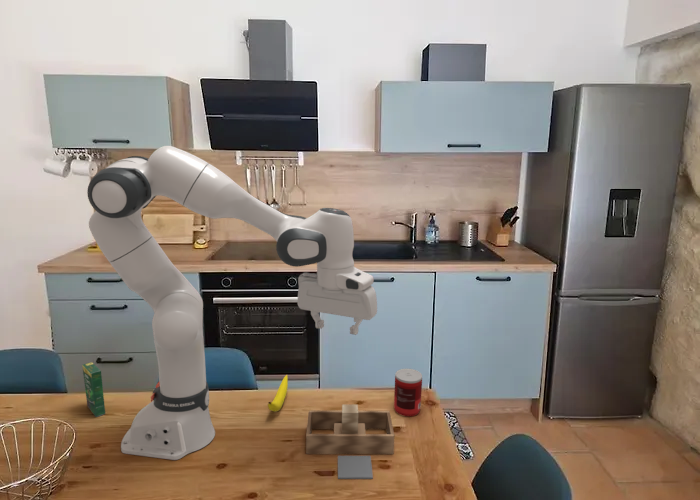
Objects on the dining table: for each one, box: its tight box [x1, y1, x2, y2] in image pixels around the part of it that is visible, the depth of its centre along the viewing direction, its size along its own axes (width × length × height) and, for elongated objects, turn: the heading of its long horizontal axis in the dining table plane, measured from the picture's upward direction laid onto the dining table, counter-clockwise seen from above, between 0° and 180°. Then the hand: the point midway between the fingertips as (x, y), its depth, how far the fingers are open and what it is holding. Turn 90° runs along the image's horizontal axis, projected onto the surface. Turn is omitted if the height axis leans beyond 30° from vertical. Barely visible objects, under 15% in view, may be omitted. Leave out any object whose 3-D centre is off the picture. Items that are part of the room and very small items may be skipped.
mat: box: [337, 455, 374, 480], centre depth 118 cm, size 8×8×1 cm
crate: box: [305, 410, 395, 455], centre depth 129 cm, size 22×12×5 cm, turn 92°
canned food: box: [393, 368, 423, 417], centre depth 143 cm, size 8×8×11 cm
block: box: [341, 404, 359, 434], centre depth 128 cm, size 4×4×6 cm
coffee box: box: [81, 361, 106, 418], centre depth 139 cm, size 8×3×13 cm, turn 43°
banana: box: [267, 374, 289, 412], centre depth 144 cm, size 3×19×6 cm, turn 173°
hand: (336, 330), depth 122 cm, fingers open, 8 cm apart
